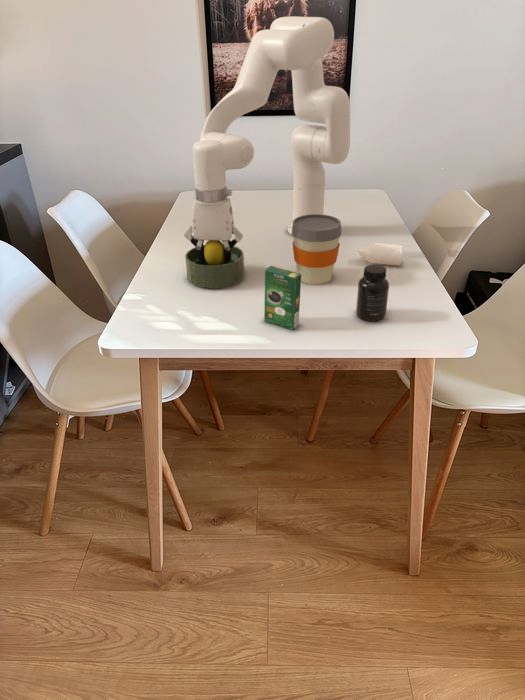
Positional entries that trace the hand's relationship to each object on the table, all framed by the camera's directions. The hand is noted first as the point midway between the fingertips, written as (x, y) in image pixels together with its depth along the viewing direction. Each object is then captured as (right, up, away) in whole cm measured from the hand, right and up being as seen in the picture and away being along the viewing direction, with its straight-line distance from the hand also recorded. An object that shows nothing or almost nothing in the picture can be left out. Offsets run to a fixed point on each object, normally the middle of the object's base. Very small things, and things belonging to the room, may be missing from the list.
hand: (215, 262), depth 146 cm
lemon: (0, -1, +1) cm, 1 cm away
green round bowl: (0, -4, +2) cm, 4 cm away
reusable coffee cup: (+26, -4, +2) cm, 27 cm away
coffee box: (+17, -17, -19) cm, 31 cm away
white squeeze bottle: (+44, +1, +9) cm, 45 cm away
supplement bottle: (+37, -15, -17) cm, 44 cm away
